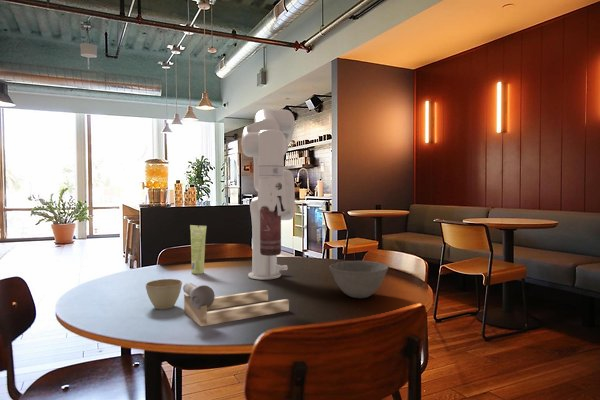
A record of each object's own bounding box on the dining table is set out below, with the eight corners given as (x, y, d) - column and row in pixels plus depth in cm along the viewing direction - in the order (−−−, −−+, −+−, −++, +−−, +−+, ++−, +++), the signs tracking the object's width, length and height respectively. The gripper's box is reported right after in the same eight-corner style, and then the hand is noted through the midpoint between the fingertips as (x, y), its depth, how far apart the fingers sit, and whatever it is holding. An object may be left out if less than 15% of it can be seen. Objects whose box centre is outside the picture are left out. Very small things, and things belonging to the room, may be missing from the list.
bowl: (352, 286, 145) (353, 258, 145) (399, 296, 132) (399, 265, 132) (316, 296, 132) (316, 265, 132) (364, 308, 119) (364, 273, 119)
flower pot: (151, 302, 124) (151, 279, 123) (185, 302, 124) (185, 278, 124) (141, 312, 114) (141, 287, 113) (178, 311, 114) (177, 286, 114)
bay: (265, 299, 128) (266, 267, 128) (292, 312, 114) (292, 276, 114) (176, 313, 113) (176, 277, 113) (194, 330, 100) (194, 289, 99)
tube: (203, 271, 171) (203, 224, 171) (206, 273, 166) (206, 225, 166) (190, 272, 169) (190, 225, 168) (192, 274, 164) (192, 226, 164)
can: (279, 256, 117) (278, 207, 116) (257, 255, 118) (257, 206, 117) (284, 252, 123) (283, 205, 122) (263, 252, 124) (263, 205, 123)
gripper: (295, 172, 115) (295, 237, 116) (270, 173, 128) (269, 232, 129) (271, 171, 111) (271, 239, 112) (248, 173, 124) (248, 233, 125)
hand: (270, 235), depth 120 cm, fingers closed
